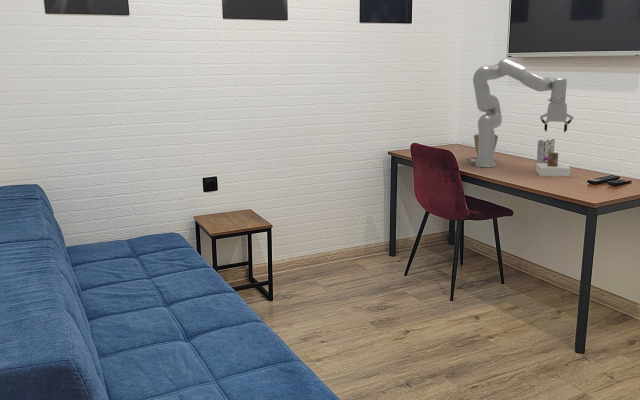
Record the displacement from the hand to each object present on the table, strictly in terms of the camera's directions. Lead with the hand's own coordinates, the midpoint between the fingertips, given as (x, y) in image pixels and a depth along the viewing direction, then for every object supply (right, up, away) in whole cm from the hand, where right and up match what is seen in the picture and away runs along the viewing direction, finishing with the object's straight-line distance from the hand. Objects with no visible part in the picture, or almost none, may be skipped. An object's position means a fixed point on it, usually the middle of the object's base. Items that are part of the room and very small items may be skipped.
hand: (555, 131), depth 326 cm
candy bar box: (+4, -18, +25) cm, 31 cm away
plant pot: (-25, -13, +51) cm, 58 cm away
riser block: (+1, -24, +6) cm, 24 cm away
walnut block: (0, -19, +5) cm, 19 cm away
